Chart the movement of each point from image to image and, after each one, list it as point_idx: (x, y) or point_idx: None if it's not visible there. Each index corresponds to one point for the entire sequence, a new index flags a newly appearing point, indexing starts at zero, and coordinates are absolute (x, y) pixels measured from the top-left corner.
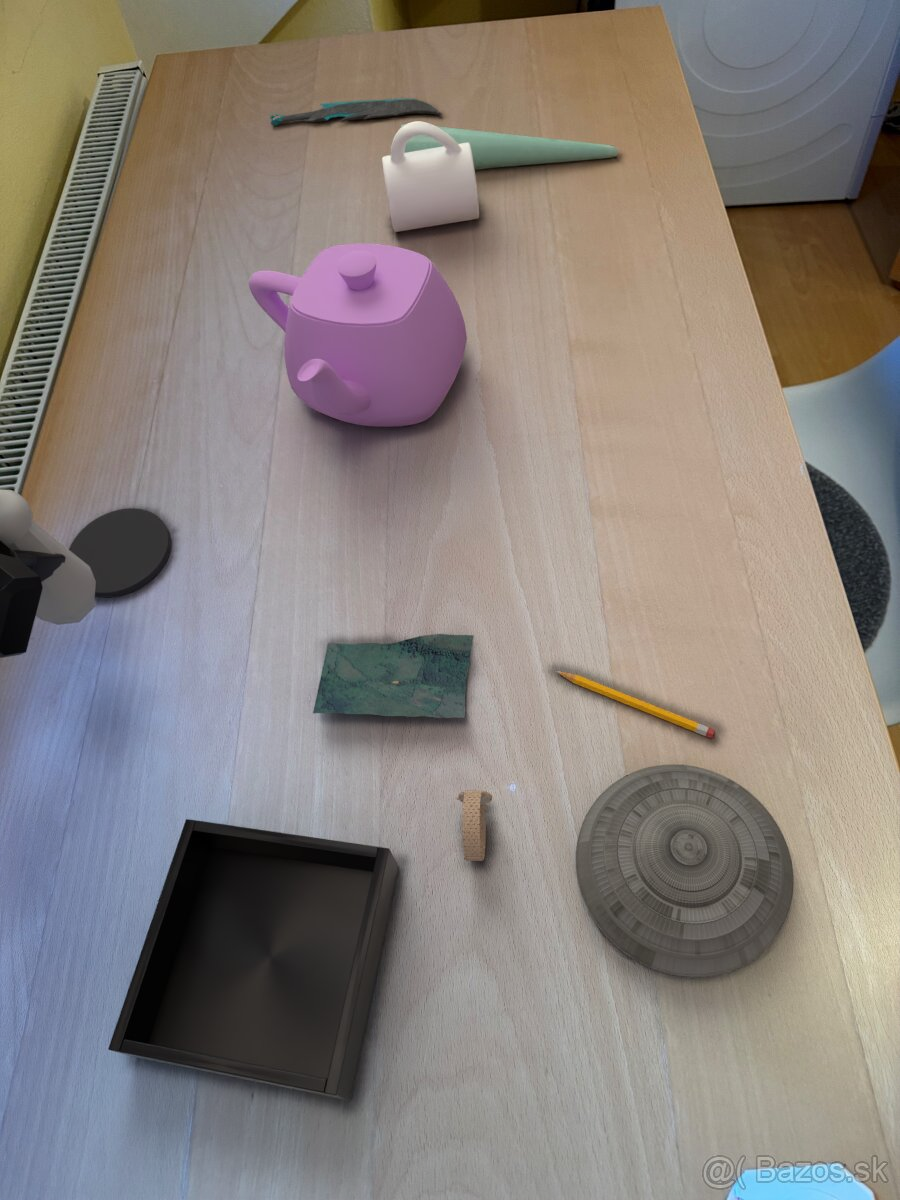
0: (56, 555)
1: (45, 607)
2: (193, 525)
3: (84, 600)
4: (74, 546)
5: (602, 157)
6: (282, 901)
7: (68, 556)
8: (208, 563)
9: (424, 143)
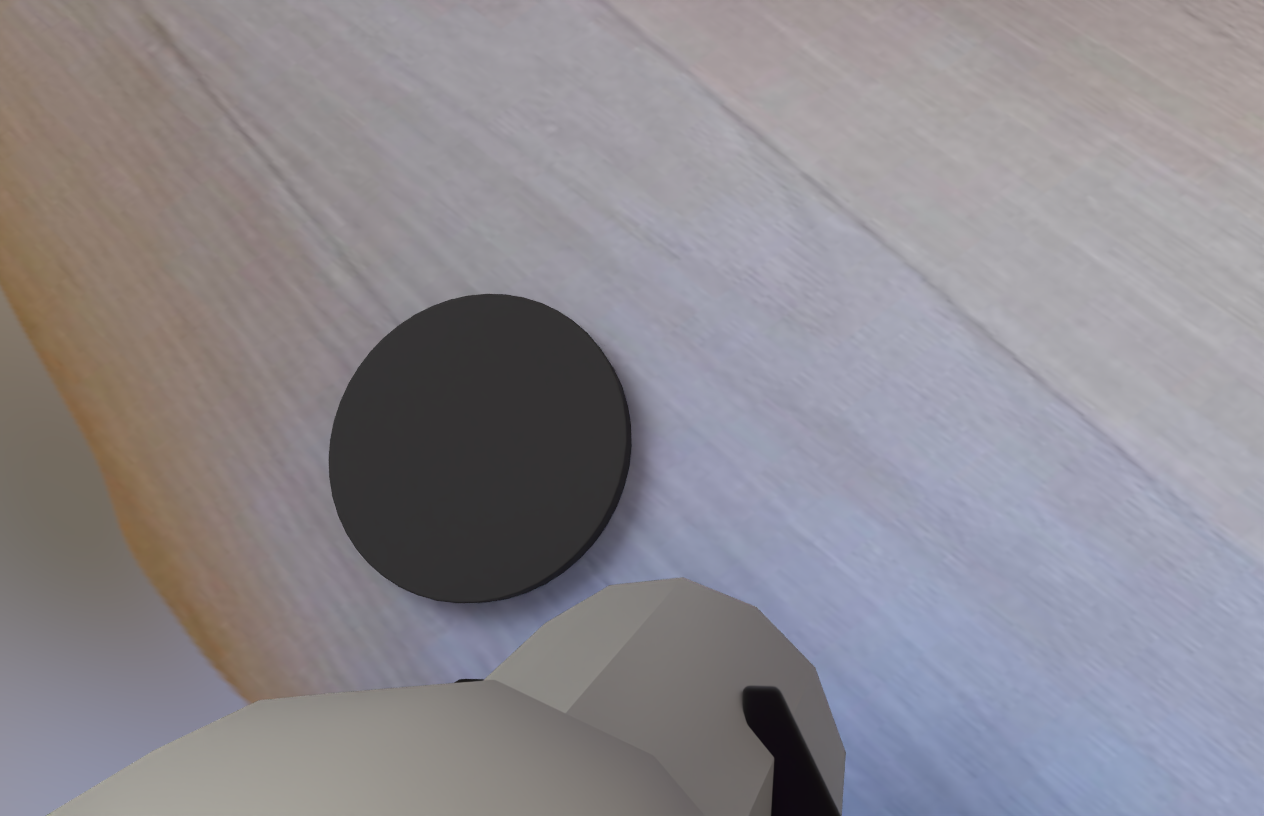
0: (790, 747)
1: None
2: (586, 254)
3: (838, 733)
4: (353, 515)
5: None
6: None
7: (724, 652)
8: (726, 306)
9: None
